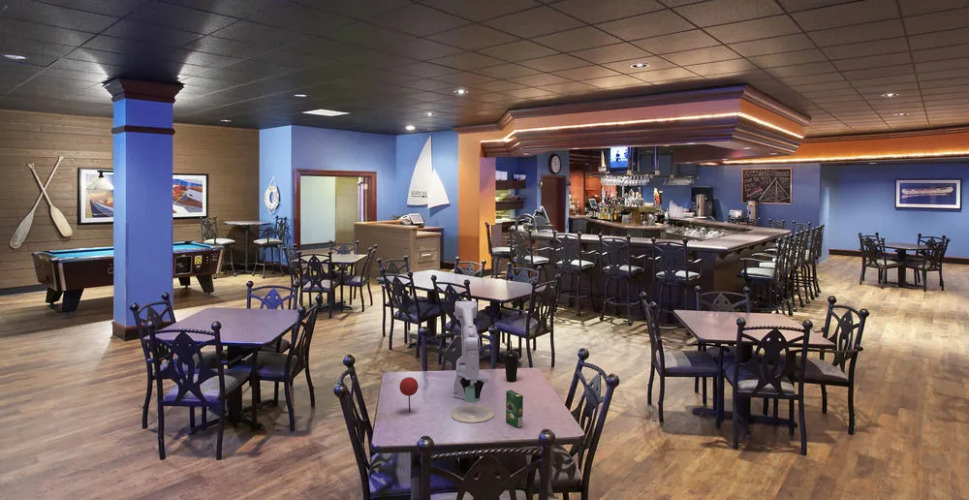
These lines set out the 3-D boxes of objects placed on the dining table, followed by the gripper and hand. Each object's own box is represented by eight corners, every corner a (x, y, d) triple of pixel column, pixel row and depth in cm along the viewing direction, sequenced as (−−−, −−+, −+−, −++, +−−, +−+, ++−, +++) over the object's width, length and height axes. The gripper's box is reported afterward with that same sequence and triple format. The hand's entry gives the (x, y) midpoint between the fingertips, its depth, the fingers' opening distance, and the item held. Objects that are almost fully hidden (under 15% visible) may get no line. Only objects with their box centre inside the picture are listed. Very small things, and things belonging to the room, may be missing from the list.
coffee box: (523, 426, 232) (523, 394, 231) (517, 428, 231) (517, 396, 229) (511, 420, 239) (511, 389, 238) (505, 422, 237) (505, 390, 236)
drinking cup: (502, 378, 293) (502, 339, 291) (517, 377, 293) (517, 338, 291) (504, 383, 285) (504, 343, 283) (520, 382, 286) (519, 342, 284)
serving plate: (442, 417, 243) (442, 415, 243) (466, 404, 258) (466, 402, 258) (479, 426, 233) (479, 424, 233) (502, 411, 248) (502, 409, 248)
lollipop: (421, 409, 252) (420, 375, 250) (413, 416, 245) (412, 381, 243) (405, 407, 254) (404, 374, 253) (397, 414, 247) (396, 379, 246)
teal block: (465, 401, 244) (465, 387, 244) (471, 398, 248) (471, 384, 247) (474, 403, 242) (474, 389, 241) (480, 400, 246) (480, 386, 245)
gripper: (452, 365, 244) (452, 396, 245) (481, 370, 236) (482, 403, 237) (461, 360, 250) (462, 391, 251) (490, 365, 242) (491, 397, 243)
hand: (472, 397), depth 245 cm, fingers closed on teal block, 4 cm apart
